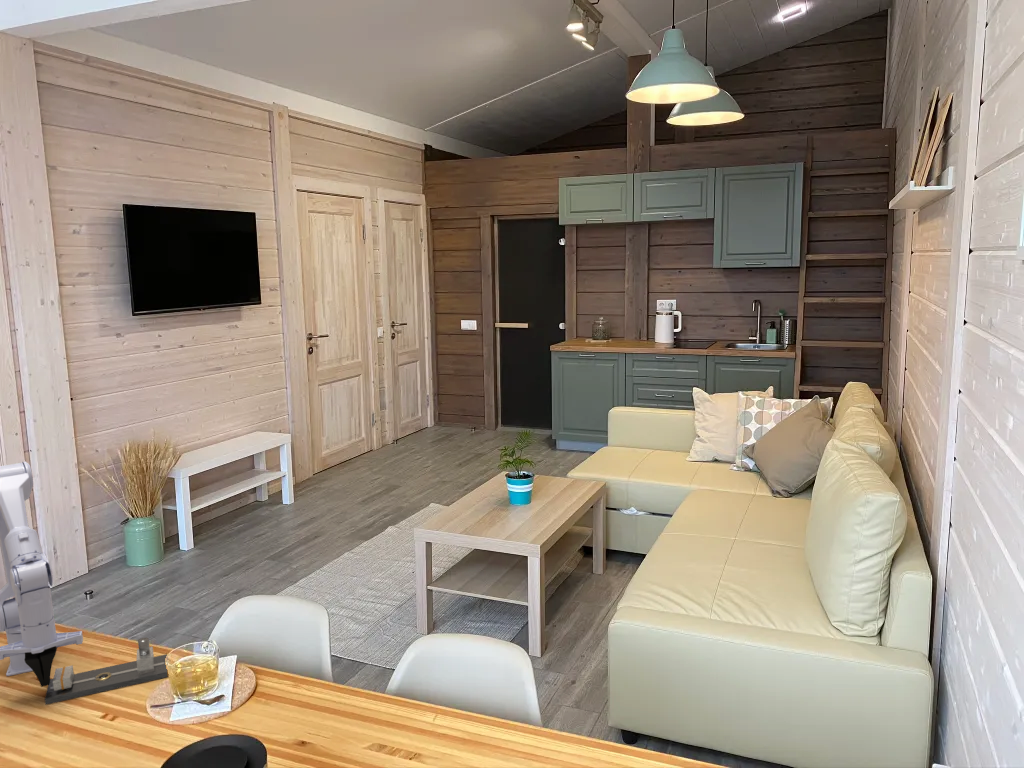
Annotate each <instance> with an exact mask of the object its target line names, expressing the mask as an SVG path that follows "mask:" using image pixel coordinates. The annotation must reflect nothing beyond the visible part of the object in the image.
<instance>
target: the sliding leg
mask: <svg viewBox="0 0 1024 768" xmlns="http://www.w3.org/2000/svg"><path fill="white" fill-rule="evenodd" d="M53 674H54V675H53V678H52V679H53V686H54V691H56V690H61V689H62V690H63V689H66V688H70V687H72V682H73V677H74V674H75V672H74V665H73V664H72V665H69V666H68V665H67V666H62V667H57V668H55V670H54V673H53Z"/></svg>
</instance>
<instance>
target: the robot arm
mask: <svg viewBox="0 0 1024 768" xmlns="http://www.w3.org/2000/svg"><path fill="white" fill-rule="evenodd" d="M33 487H34V477H33V471H32V467H31V465H30V463H28V462H27V461H22V462H18V463H16V462H15V463H11V464H4V465H0V551H1V559H2V565H3V569H4V575H5V581H6V583H5V585H4V586H2V587H1V588H0V631H1V632H5V635H6V640H7V644H6V645H2V646H0V661H3V660H4V659H5V658H9V662H10V663H9V665H8V668H7V671H6V673H5V675H6V677H10V676H15V675H20V674H24V673H29V672H33V673H34V675H35V676H36V678H37V680H38V681H39V684H40V687H41V688H42V687H46V686H47V687H48V685H49V684H50V679H51V671H52V667H53V662H54V659H55V657H56V654H57V651H58V648H60V647H64V646H65V647H66V646H70V645H71V646H72V645H82V644H83V641H84V635H83V631H82V630H80V631H72V632H71V631H70V632H57V630H56V622H55V615H54V607H53V600H52V599H53V598H52V590H51V587H52V586H53V584H54V582H53V581H54V578H53V577H54V575H53V569H52V566H51V563H50V561H49V559H48V556H46V553H45V552H43V549H42V545H41V541H40V538H39V535H38V534H39V533H38V531H37V530H36V529H34V528H31V527H29V523H28V522H29V521H28V515H27V508H26V503H25V501H26V500H29V499H30V496H31V495H32V491H33ZM12 597H13V598H12ZM10 598H11V599H10Z"/></svg>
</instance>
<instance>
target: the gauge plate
mask: <svg viewBox="0 0 1024 768" xmlns="http://www.w3.org/2000/svg"><path fill="white" fill-rule="evenodd" d="M149 640H150V639H149V637H142V638H140V639H138V640H137V644H138V648H137V649H136V660H133V661H130V662H125V663H120V664H119V663H118V664H114V665H111V666H105V667H100V668H96V669H93V670H87V671H82V672H78V673H74V677H73V682H72V687H70V688H66V689H63V690H62V689H61V690H56V691H54V686H53V678H50V684H49V685H47V688H46V689H47V690H46V693H45V697H44V703H45V705H46V706H47V705H51V704H53V703H54V704H55V703H59V702H63V701H68V700H72V699H77V698H82V697H85V696H90V695H94V694H99V693H103V692H104V693H105V692H107V691H112V690H116V689H121V688H126V687H129V686H135V685H139V684H144V683H149V682H152V681H157V680H160V679H166V678H168V677H169V676H167V669H166V665H165V658H166V656H167V657H168V655H167V653H165V654H162V655H158V656H154V646H152V645H151V646H150V641H149Z"/></svg>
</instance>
